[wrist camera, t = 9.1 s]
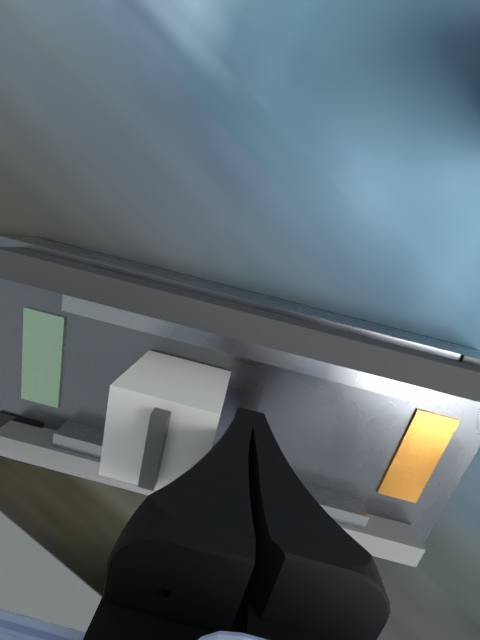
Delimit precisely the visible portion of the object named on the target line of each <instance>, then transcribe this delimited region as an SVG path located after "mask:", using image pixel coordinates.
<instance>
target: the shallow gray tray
mask: <svg viewBox="0 0 480 640" xmlns="http://www.w3.org/2000/svg"><path fill="white" fill-rule="evenodd" d="M0 278H2V279H5V280H9V281H13V282H17V283H21V284H25V285H29V286H32V287H36V288H40V289H44V290H48V291H52V292H56V293H59V294H63V295H67V296H71V297H75V298H79V299H83V300H86V301H90V302H94V303H98V304H102V305H106V306H110V307H113V308H117V309H121V310H125V311H129V312H133V313H137V314H140V315H144V316H148V317H152V318H156V319H160V320H164V321H167V322H171V323H175V324H179V325H183V326H187V327H191V328H195V329H198V330H202V331H206V332H210V333H214V334H218V335H222V336H225V337H229V338H233V339H237V340H241V341H245V342H249V343H252V344H256V345H260V346H264V347H268V348H272V349H276V350H279V351H283V352H287V353H291V354H295V355H299V356H303V357H306V358H310V359H314V360H318V361H322V362H326V363H330V364H333V365H337V366H341V367H345V368H349V369H353V370H357V371H360V372H364V373H368V374H372V375H376V376H380V377H384V378H387V379H391V380H395V381H399V382H403V383H407V384H411V385H414V386H418V387H422V388H426V389H430V390H434V391H438V392H441V393H445V394H449V395H453V396H457V397H461V398H465V399H469V400H472V401H476V402H480V367H479V366H475V365H471V364H467V363H464V362H461V361H458V360H454V359H450V358H446V357H442V356H438V355H434V354H430V353H427V352H423V351H419V350H415V349H411V348H407V347H403V346H399V345H395V344H392V343H388V342H384V341H380V340H376V339H372V338H368V337H364V336H360V335H357V334H353V333H349V332H345V331H341V330H337V329H333V328H329V327H325V326H322V325H318V324H314V323H310V322H306V321H302V320H298V319H294V318H290V317H287V316H283V315H279V314H275V313H271V312H267V311H263V310H259V309H256V308H252V307H248V306H244V305H240V304H236V303H232V302H228V301H224V300H221V299H217V298H213V297H209V296H205V295H201V294H197V293H193V292H189V291H186V290H182V289H178V288H174V287H170V286H166V285H162V284H158V283H154V282H151V281H147V280H143V279H139V278H135V277H131V276H127V275H123V274H119V273H116V272H112V271H108V270H104V269H100V268H96V267H92V266H88V265H84V264H81V263H77V262H73V261H69V260H65V259H61V258H57V257H53V256H49V255H46V254H42V253H38V252H34V251H30V250H26V249H22V248H18V247H0ZM55 431H56V430H52V429H49V428H45V427H43V428H39V427H35V426H31V425H28V424H24V423H20V422H16V421H13V420H11V421H9V422H8V423H6V424H5V425H4V426H2V427H1V428H0V456H4V457H7V458H11V459H15V460H18V461H22V462H26V463H30V464H33V465H37V466H41V467H44V468H48V469H52V470H56V471H59V472H63V473H67V474H71V475H74V476H78V477H82V478H85V479H89V480H93V481H97V482H100V483H104V484H108V485H111V486H115V487H119V488H123V489H126V490H130V491H134V492H138V493H141V494H145V495H150V494H152V493H154V492H155V491H157V490H153V491H151V490H147V489H144V488H140V487H138V485H135V484H131V483H128V482H124V481H120V480H116V479H113V478H109V477H105V476H101V475H99V468H100V460H101V459H98V458H94V457H90V456H86V455H83V454H79V453H75V452H71V451H68V450H64V449H60V448H56V447H53V433H54V432H55ZM369 517H370V518H369V520H368V522H367V524H366V526H365V528H364V530H363V529H359V528H356V527H352V526H348V525H344V524H341V523H338V524H339V525H340V526H341V527H342V528H343V529H344V530H345V531H346V532H347V533H348V534H349V535H350V536H351V537H352V538H353V539H355V540H356V541H357V542H358V543H359V544H360V545H361V546H362V547H364V548H365V549H366V550H367V551H368V552H369V553H370V554H371V555H372V556H376V557H379V558H383V559H387V560H391V561H394V562H398V563H402V564H406V565H409V566H413V567H416V566H417V564H418V562H419V561H420V559H421V557H422V556H423V554H424V552H425V551H426V549H425V548H424V546H423V544H422V542H421V540H420V539H419V537H418V535H417V533H416V531H415V529H414V528H413V526H412V525H409V524H405V523H401V522H398V521H394V520H390V519H386V518H383V517H379V516H375V515H371V514H369Z"/></svg>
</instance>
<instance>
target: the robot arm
mask: <svg viewBox="0 0 480 640" xmlns="http://www.w3.org/2000/svg"><path fill="white" fill-rule="evenodd" d="M389 614H390V602H389V599H388V596H387V594H386V591H385V588H384V585H383V582H382V579H381V577H380V574H379V571H378V569H377V567H376V565H375V562H374V560H373V558H372V555H371V554H370V553H369V552H368V551H367V550H366V549H365V548H364V547H362V546H361V545H360V544H359V543H358V542H357V541H356V540H355V539H353V538H352V537H351V536H350V535H349V534H348V533H347V532H346V531H345V530H344V529H343V528H342V527H341V526H340V525H339V524H338V523H337V522H336V521H335V520H334V519H333V518H332V517H331V516H330V515H329V514H328V513H327V512H326V511H325V510H324V509H323V508H322V507H321V506H320V504H319V503H318V502H317V501H316V500H315V498H314V497H313V496H312V495H311V494H310V492H309V491H308V490H307V489H306V487H305V486H304V485H303V484H302V482H301V481H300V479H299V478H298V477H297V475H296V474H295V472H294V471H293V469H292V468H291V466H290V465H289V463H288V461H287V460H286V458H285V456H284V454H283V453H282V451H281V449H280V447H279V445H278V443H277V441H276V439H275V437H274V435H273V433H272V430H271V428H270V426H269V424H268V421H267V419H266V416H265V415H264V413H260V412H256V411H252V410H249V409H245V408H241V407H239V408H237V410H236V413H235V417H234V419H233V420H232V422H231V424H230V425H229V427H228V428H227V430H226V431H225V433H224V434H223V436H222V437H221V438H220V439H219V441H218V442H217V443H216V444H215V445H214V446H213V448H212V449H211V450H210V451H209V452H208V453H207V454H206V455H205V456H204V457H203V458H202V459H201V460H199V461H198V462H197V463H196V464H195V465H194V466H193V467H191V468H190V469H189V470H188V471H186V472H185V473H184V474H182V475H181V476H179V477H178V478H177V479H175V480H174V481H172V482H171V483H169V484H168V485H166V486H164V487H162V488H161V489H159V490H157V491H155V492H154V493H152V494H150V495H148V497H147V498H146V499H145V500H144V501H143V503H142V504H141V505H140V506H139V508H138V509H137V510H136V512H135V513H134V514H133V516H132V517H131V518H130V520H129V521H128V523H127V524H126V526H125V528H124V529H123V531H122V532H121V534H120V536H119V538H118V540H117V542H116V544H115V546H114V548H113V550H112V552H111V555H110V557H109V560H108V563H107V569H106V576H105V582H104V588H103V594H102V599H101V601H100V604H99V606H98V608H97V610H96V612H95V615H94V617H93V619H92V621H91V623H90V625H89V627H88V630H87V632H86V633H84V632H80V631H77V630H74V629H70V628H66V627H63V626H60V625H56V624H52V623H48V622H45V621H41V620H38V619H34V618H31V617H27V616H24V615H20V614H16V613H13V612H9V611H6V610H2V609H0V640H376V639H377V638H378V636H379V634H380V633H381V631H382V629H383V628H384V626H385V624H386V622H387V620H388V617H389Z"/></svg>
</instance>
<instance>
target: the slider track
mask: <svg viewBox="0 0 480 640" xmlns="http://www.w3.org/2000/svg"><path fill="white" fill-rule="evenodd" d="M0 247H18V248H22V249H26V250H30V251H34V252H38V253H42V254H46V255H49V256H53V257H57V258H61V259H65V260H69V261H73V262H77V263H81V264H84V265H88V266H92V267H96V268H100V269H104V270H108V271H112V272H116V273H119V274H123V275H127V276H131V277H135V278H139V279H143V280H147V281H151V282H154V283H158V284H162V285H166V286H170V287H174V288H178V289H182V290H186V291H189V292H193V293H197V294H201V295H205V296H209V297H213V298H217V299H221V300H224V301H228V302H232V303H236V304H240V305H244V306H248V307H252V308H256V309H259V310H263V311H267V312H271V313H275V314H279V315H283V316H287V317H290V318H294V319H298V320H302V321H306V322H310V323H314V324H318V325H322V326H325V327H329V328H333V329H337V330H341V331H345V332H349V333H353V334H357V335H360V336H364V337H368V338H372V339H376V340H380V341H384V342H388V343H392V344H395V345H399V346H403V347H407V348H411V349H415V350H419V351H423V352H427V353H430V354H434V355H438V356H442V357H446V358H450V359H454V360H458V361H461V362H464V363H467V364H471V365H475V366H479V367H480V350H477V349H473V348H469V347H465V346H462V345H458V344H454V343H450V342H446V341H442V340H438V339H434V338H430V337H426V336H423V335H419V334H415V333H411V332H407V331H403V330H399V329H395V328H391V327H387V326H384V325H380V324H376V323H372V322H368V321H364V320H360V319H356V318H352V317H348V316H345V315H341V314H337V313H333V312H329V311H325V310H321V309H317V308H313V307H309V306H306V305H302V304H298V303H294V302H290V301H286V300H282V299H278V298H274V297H270V296H267V295H263V294H259V293H255V292H251V291H247V290H243V289H239V288H235V287H231V286H228V285H224V284H220V283H216V282H212V281H208V280H204V279H200V278H196V277H192V276H188V275H185V274H181V273H177V272H173V271H169V270H165V269H161V268H157V267H153V266H149V265H146V264H142V263H138V262H134V261H130V260H126V259H122V258H118V257H114V256H110V255H107V254H103V253H99V252H95V251H91V250H87V249H83V248H79V247H75V246H71V245H68V244H64V243H60V242H56V241H52V240H48V239H44V238H40V237H25V236H9V235H0ZM149 350H151V351H155V352H158V353H162V354H166V355H170V356H174V357H178V358H181V359H185V360H189V361H193V362H197V363H201V364H204V365H208V366H212V367H216V368H220V369H223V370H227V371H231V375H230V379H229V383H228V387H227V391H226V395H225V399H224V403H223V407H222V411H221V415H220V419H219V423H218V426H217V430H216V434H215V438H214V442H213V446H214V445H215V444H216V443H217V442H218V441H219V439H220V438H221V437H222V436H223V434H224V433H225V431H226V430H227V428H228V427H229V425H230V424H231V422H232V420H233V419H234V417H235V413H236V410H237V408H239V407H241V408H245V409H249V410H252V411H256V412H260V413H264V415H265V416H266V419H267V421H268V424H269V426H270V428H271V430H272V433H273V435H274V437H275V439H276V441H277V443H278V445H279V447H280V449H281V451H282V453H283V454H284V456H285V458H286V460H287V461H288V463H289V465H290V466H291V468H292V469H293V471H294V472H295V474H296V475H297V477H298V478H299V479H300V481H301V482H302V484H303V485H304V486H305V487H306V489H307V490H308V491H309V492H310V494H311V495H312V496H313V497H314V498H315V500H316V501H317V502H318V503H319V504H320V506H321V507H322V508H323V509H324V510H325V511H326V512H327V513H328V514H329V515H330V516H331V517H332V518H333V519H334V520H335V521H336V522H337V523H341V524H344V525H348V526H352V527H356V528H359V529H363V530H364V528H365V526H366V524H367V522H368V520H369V518H370V517H369V514H371V515H375V516H379V517H383V518H386V519H390V520H394V521H398V522H401V523H405V524H409V525H412V526H413V528H414V529H415V531H416V533H417V535H418V537H419V539H420V540H421V542H422V544H423V543H424V541H425V540H426V538H427V536H428V534H429V533H430V531H431V529H432V528H433V526H434V524H435V522H436V521H437V519H438V517H439V516H440V514H441V512H442V510H443V509H444V507H445V505H446V503H447V502H448V500H449V498H450V497H451V495H452V493H453V491H454V490H455V488H456V486H457V485H458V483H459V481H460V479H461V478H462V476H463V474H464V473H465V471H466V469H467V467H468V466H469V464H470V462H471V461H472V459H473V457H474V455H475V454H476V452H477V450H478V449H479V447H480V402H476V401H472V400H469V399H465V398H461V397H457V396H453V395H449V394H445V393H441V392H438V391H434V390H430V389H426V388H422V387H418V386H414V385H411V384H407V383H403V382H399V381H395V380H391V379H387V378H384V377H380V376H376V375H372V374H368V373H364V372H360V371H357V370H353V369H349V368H345V367H341V366H337V365H333V364H330V363H326V362H322V361H318V360H314V359H310V358H306V357H303V356H299V355H295V354H291V353H287V352H283V351H279V350H276V349H272V348H268V347H264V346H260V345H256V344H252V343H249V342H245V341H241V340H237V339H233V338H229V337H225V336H222V335H218V334H214V333H210V332H206V331H202V330H198V329H195V328H191V327H187V326H183V325H179V324H175V323H171V322H167V321H164V320H160V319H156V318H152V317H148V316H144V315H140V314H137V313H133V312H129V311H125V310H121V309H117V308H113V307H110V306H106V305H102V304H98V303H94V302H90V301H86V300H83V299H79V298H75V297H71V296H67V295H63V294H59V293H56V292H52V291H48V290H44V289H40V288H36V287H32V286H29V285H25V284H21V283H17V282H13V281H9V280H5V279H2V278H0V428H1V427H2V426H4V425H5V424H6V423H8V422H9V421H11V420H13V421H16V422H20V423H24V424H28V425H31V426H35V427H39V428H43V427H45V428H49V429H52V430H56V431H55V432H54V433H53V447H56V448H60V449H64V450H68V451H71V452H75V453H79V454H83V455H86V456H90V457H94V458H98V459H101V452H102V444H103V437H104V429H105V421H106V413H107V405H108V397H109V389H110V385H111V384H112V383H113V382H114V381H115V380H116V379H117V378H119V377H120V376H121V375H122V374H123V373H124V372H125V371H126V370H128V369H129V368H130V367H131V366H132V365H133V364H134V363H136V362H137V361H138V360H139V359H140V358H141V357H142V356H143V355H145V354H146V353H147V352H148V351H149ZM213 446H212V448H213Z"/></svg>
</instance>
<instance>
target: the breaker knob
mask: <svg viewBox="0 0 480 640" xmlns="http://www.w3.org/2000/svg"><path fill="white" fill-rule="evenodd" d="M230 375H231V371H227V370H223V369H220V368H216V367H212V366H208V365H204V364H201V363H197V362H193V361H189V360H185V359H181V358H178V357H174V356H170V355H166V354H162V353H158V352H155V351H151V350H149V351H148V352H147V353H146V354H145V355H143V356H142V357H141V358H140V359H139V360H138V361H137V362H136V363H134V364H133V365H132V366H131V367H130V368H129V369H128V370H126V371H125V372H124V373H123V374H122V375H121V376H120V377H119V378H117V379H116V380H115V381H114V382H113V383H112V384H111V385H110V389H109V397H108V405H107V413H106V421H105V429H104V437H103V444H102V452H101V460H100V468H99V475H101V476H105V477H109V478H113V479H116V480H120V481H124V482H128V483H131V484H135V485H138V487H140V488H144V489H147V490H151V491H153V490H159V489H161V488H162V487H164V486H166V485H168V484H169V483H171V482H172V481H174V480H175V479H177V478H178V477H179V476H181V475H182V474H184V473H185V472H186V471H188V470H189V469H190V468H191V467H193V466H194V465H195V464H196V463H197V462H198V461H199V460H201V459H202V458H203V457H204V456H205V455H206V454H207V453H208V452H209V451H210V450H211V449H212V446H213V442H214V438H215V434H216V430H217V426H218V423H219V419H220V415H221V411H222V407H223V403H224V399H225V395H226V391H227V387H228V383H229V379H230Z"/></svg>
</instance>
